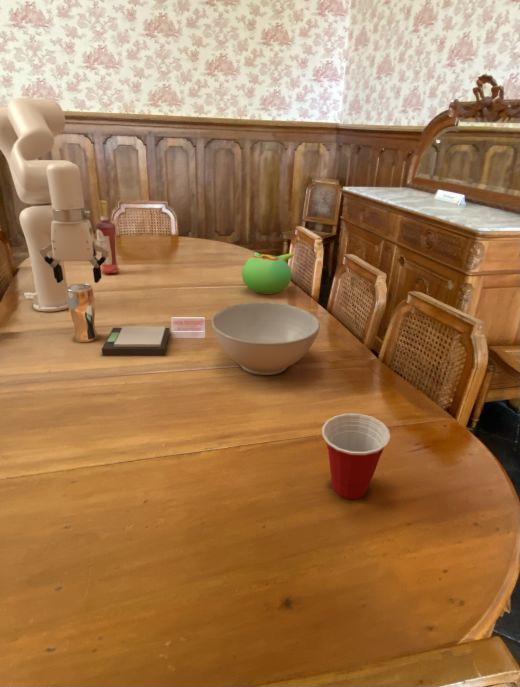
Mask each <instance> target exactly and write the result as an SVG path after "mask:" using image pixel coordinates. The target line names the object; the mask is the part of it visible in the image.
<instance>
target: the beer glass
mask: <svg viewBox="0 0 520 687" xmlns="http://www.w3.org/2000/svg"><path fill="white" fill-rule="evenodd" d="M66 290H67V302H68V311H69V315H70V317H71V320H72V323H73V326H74V340H75V341H76V342H77V343H91V342H93V341H96V340H97V339H98V338H99V337H98V333H97V329H96V325H95V324H96V323H95V321H96V320H95V318H96V299H95V294H94V289H93V285H92V284H89V283H84V282H83V283H81V282H80V283H74V284H73V283H72V284H70V285H67V288H66Z"/></svg>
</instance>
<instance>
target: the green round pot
mask: <svg viewBox="0 0 520 687" xmlns="http://www.w3.org/2000/svg"><path fill="white" fill-rule="evenodd" d="M294 256H295V253H294V252H293V253H292V252H291V253H287V254H286V253H285V254H280V255H273V254H263V253H262V254H260V253H259V252H255V253H254V255H253V257H250V258H249V259H248V260H247V261H246V262H245V263H244V264H243V267H242V270H241V278H242V281H243V283H244V285H245V286H246V287H247V288H248V289H250V290H251V291H253V292H255V293H258V294H263V295H274V294H278V293H281V292H283V291H284V290H286V289H287V288H288V286H289V285H290V284H291V283H290V282H291V280H292V270H291V267H290V265H289V263H288V262H287V261H288V260H289V259H291V258H293V257H294Z"/></svg>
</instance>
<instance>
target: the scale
mask: <svg viewBox="0 0 520 687" xmlns="http://www.w3.org/2000/svg"><path fill="white" fill-rule="evenodd" d="M170 335H171V330H170V327H167V326H164V325H163V326H162V325H161V326H152V325H151V326H149V325H148V326H147V325H145V326H144V325H141V326H140V325H139V326H137V325H136V326H134V325H132V326H131V325H129V326H127V325H126V326H125V325H124V326H122V327H113V328H112V329H111V331H110V333H109V335H108V336H107V338H106V340H105V342H104V344H103V345H102V347H101V353H102V354H101V355H102V356H165V354H166V350H167V347H168V343H169V339H170Z"/></svg>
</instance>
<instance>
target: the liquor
mask: <svg viewBox="0 0 520 687" xmlns="http://www.w3.org/2000/svg"><path fill="white" fill-rule="evenodd" d="M107 202H108V201H107V200H98V203H99V204H98V205H99V209H100V221H99V222H98V223H97V224H96V225H95V232H96V239H97V240H96V241H97V244H98V245H100V246H102V247H104V248H106V249H108V250H109V254H108V256H107V258H106V260H105V261H104V262H103V263H102V265H101V273H102V274H104V275H107V276H112V275H115V274H117V273H118V272H119V271H120V269H119V267H118V257H117V256H118V255H117V233H116V225H115V224H114V223H113V222H111V221H110V219H109V215H108V210H107V209H108V203H107ZM99 256H100V258H101V256H102V253H101V252H99ZM100 258H99V259H100Z"/></svg>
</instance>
